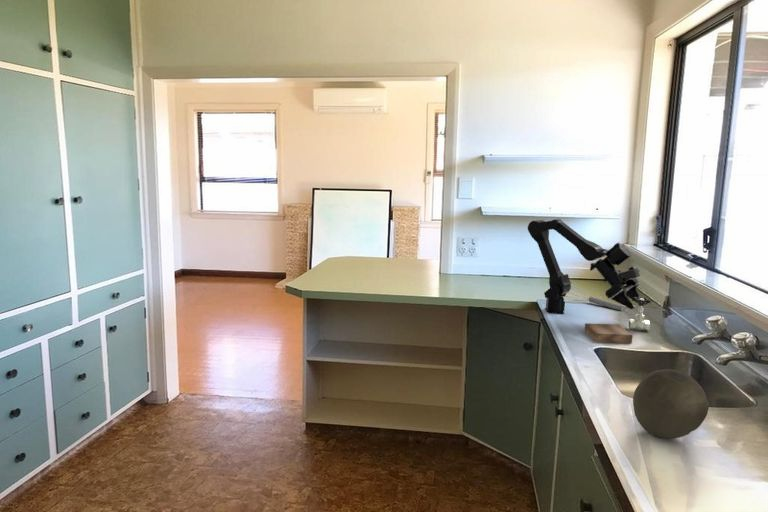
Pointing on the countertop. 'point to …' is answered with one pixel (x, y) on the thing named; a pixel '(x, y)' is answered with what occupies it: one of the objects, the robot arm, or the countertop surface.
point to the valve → (640, 315)
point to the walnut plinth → (608, 333)
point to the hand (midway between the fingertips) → (637, 306)
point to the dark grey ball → (669, 404)
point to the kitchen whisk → (601, 302)
